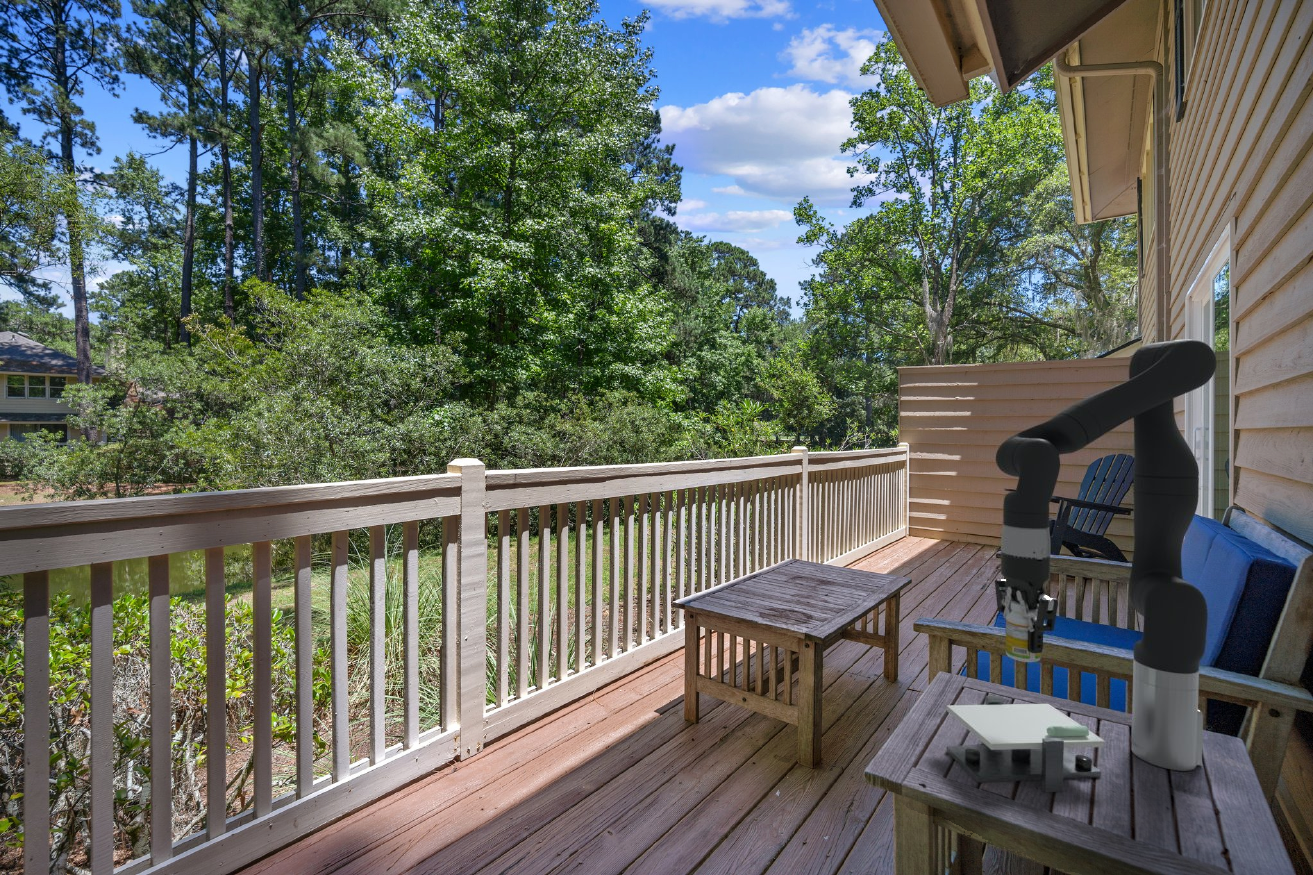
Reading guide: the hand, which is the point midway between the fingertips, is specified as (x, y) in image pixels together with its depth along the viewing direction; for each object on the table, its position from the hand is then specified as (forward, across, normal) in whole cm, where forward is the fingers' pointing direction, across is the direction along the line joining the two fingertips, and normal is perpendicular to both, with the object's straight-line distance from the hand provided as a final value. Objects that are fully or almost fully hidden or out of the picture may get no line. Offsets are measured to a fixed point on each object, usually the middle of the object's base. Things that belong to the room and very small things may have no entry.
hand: (1023, 645), depth 112 cm
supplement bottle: (+2, 0, 0) cm, 2 cm away
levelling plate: (+14, 0, 0) cm, 14 cm away
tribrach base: (+21, 0, 0) cm, 21 cm away
